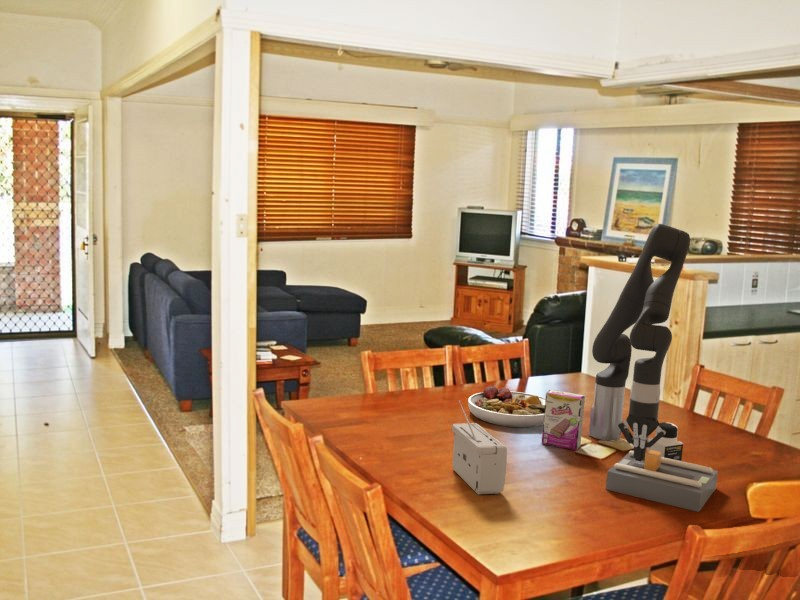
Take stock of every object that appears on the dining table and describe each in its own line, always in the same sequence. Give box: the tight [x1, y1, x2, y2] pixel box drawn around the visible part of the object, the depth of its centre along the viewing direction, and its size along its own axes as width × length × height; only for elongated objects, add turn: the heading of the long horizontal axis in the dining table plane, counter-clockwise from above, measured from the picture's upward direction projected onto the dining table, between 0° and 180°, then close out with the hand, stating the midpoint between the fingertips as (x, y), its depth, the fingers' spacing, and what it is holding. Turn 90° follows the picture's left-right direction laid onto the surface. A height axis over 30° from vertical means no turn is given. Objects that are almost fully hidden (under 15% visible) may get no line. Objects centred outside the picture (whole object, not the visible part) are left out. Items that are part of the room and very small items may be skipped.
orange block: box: [644, 450, 662, 471], centre depth 229 cm, size 3×5×4 cm, turn 148°
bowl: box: [467, 385, 546, 428], centre depth 290 cm, size 30×30×8 cm
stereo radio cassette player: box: [451, 400, 508, 495], centre depth 226 cm, size 21×8×20 cm, turn 17°
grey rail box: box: [605, 450, 719, 513], centre depth 229 cm, size 24×20×7 cm
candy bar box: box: [541, 389, 586, 451], centre depth 260 cm, size 11×5×16 cm, turn 65°
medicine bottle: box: [646, 421, 684, 461], centre depth 248 cm, size 7×7×12 cm
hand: (638, 460), depth 231 cm, fingers closed
